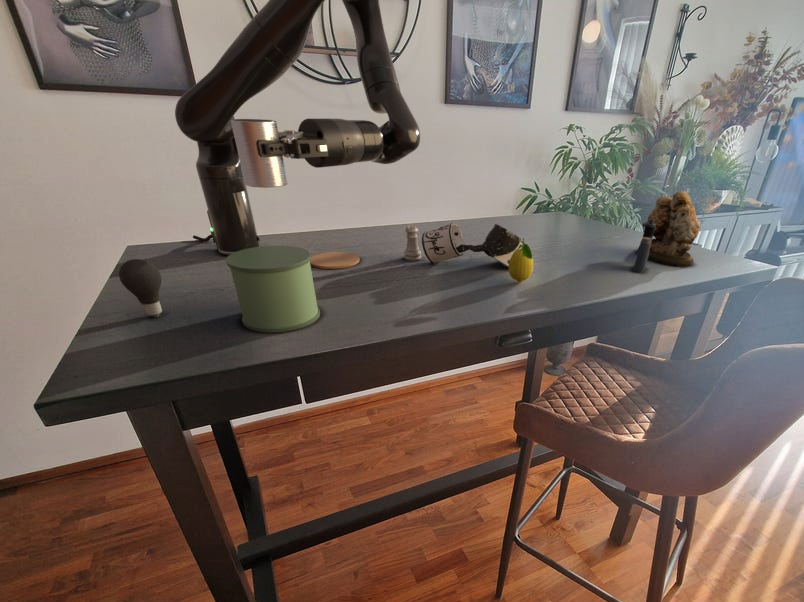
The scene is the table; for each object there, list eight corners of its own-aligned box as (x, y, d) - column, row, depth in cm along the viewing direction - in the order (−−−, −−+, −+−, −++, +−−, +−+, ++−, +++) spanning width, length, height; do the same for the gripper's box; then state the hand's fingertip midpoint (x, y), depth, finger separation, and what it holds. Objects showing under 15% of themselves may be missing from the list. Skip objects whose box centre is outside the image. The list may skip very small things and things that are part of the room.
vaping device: (645, 267, 113) (658, 219, 107) (643, 273, 109) (655, 223, 103) (635, 266, 114) (647, 218, 108) (632, 271, 110) (644, 222, 104)
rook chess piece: (423, 256, 113) (422, 224, 109) (419, 261, 110) (418, 228, 105) (406, 255, 114) (404, 223, 109) (402, 260, 110) (400, 227, 106)
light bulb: (147, 309, 80) (125, 254, 74) (180, 309, 80) (161, 254, 75) (129, 322, 75) (104, 264, 70) (164, 322, 76) (142, 265, 70)
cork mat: (297, 262, 105) (296, 260, 105) (334, 251, 114) (333, 248, 114) (334, 272, 101) (334, 269, 100) (369, 259, 110) (369, 257, 109)
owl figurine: (624, 250, 127) (638, 186, 118) (654, 246, 132) (669, 184, 122) (672, 269, 114) (692, 198, 104) (703, 264, 118) (725, 196, 109)
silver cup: (236, 184, 71) (221, 119, 66) (270, 179, 76) (257, 118, 71) (263, 189, 69) (249, 121, 64) (296, 184, 73) (285, 121, 68)
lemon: (528, 289, 96) (533, 243, 91) (503, 285, 98) (506, 239, 93) (536, 280, 102) (541, 236, 96) (511, 276, 103) (515, 232, 98)
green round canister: (226, 320, 77) (208, 258, 71) (286, 297, 87) (275, 241, 81) (277, 339, 72) (262, 274, 66) (335, 313, 82) (326, 254, 76)
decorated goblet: (421, 270, 105) (419, 226, 99) (424, 257, 113) (423, 217, 108) (526, 273, 106) (531, 230, 100) (522, 260, 114) (525, 220, 109)
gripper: (303, 116, 81) (212, 115, 69) (357, 121, 74) (267, 121, 62) (309, 161, 85) (225, 168, 73) (362, 170, 78) (278, 179, 66)
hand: (245, 147), depth 68 cm, fingers closed on silver cup, 6 cm apart
